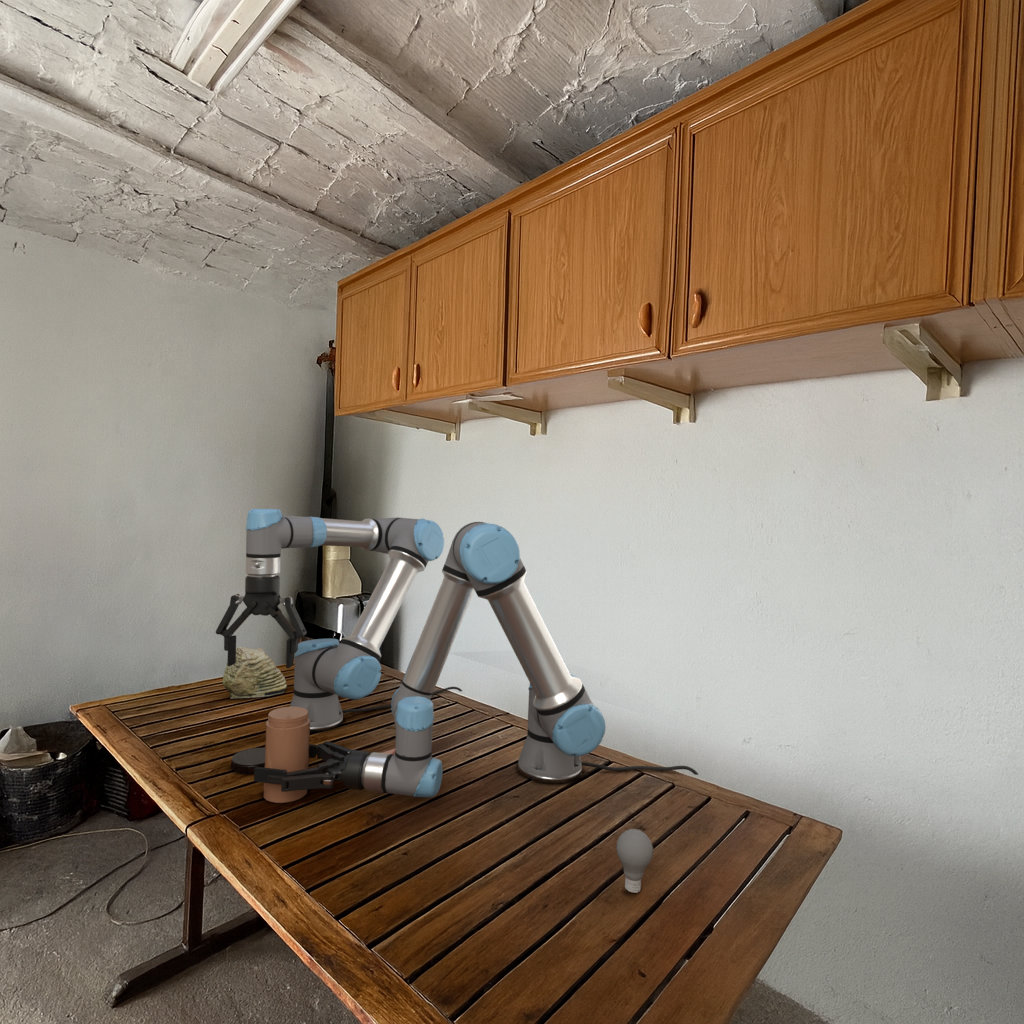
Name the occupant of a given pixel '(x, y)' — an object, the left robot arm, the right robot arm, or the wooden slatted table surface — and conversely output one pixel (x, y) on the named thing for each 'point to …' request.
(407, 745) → the right robot arm
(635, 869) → the light bulb
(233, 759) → the lid
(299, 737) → the jar
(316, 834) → the wooden slatted table surface
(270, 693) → the fossil
